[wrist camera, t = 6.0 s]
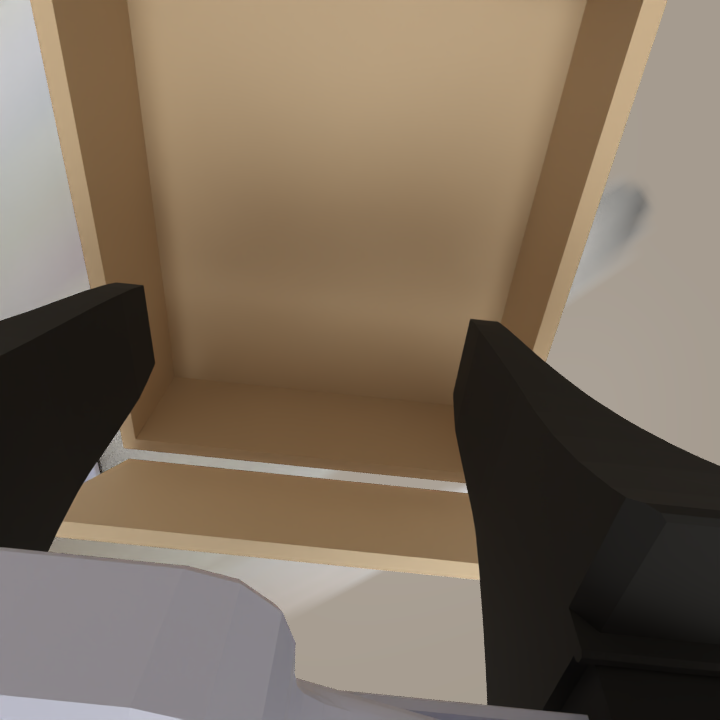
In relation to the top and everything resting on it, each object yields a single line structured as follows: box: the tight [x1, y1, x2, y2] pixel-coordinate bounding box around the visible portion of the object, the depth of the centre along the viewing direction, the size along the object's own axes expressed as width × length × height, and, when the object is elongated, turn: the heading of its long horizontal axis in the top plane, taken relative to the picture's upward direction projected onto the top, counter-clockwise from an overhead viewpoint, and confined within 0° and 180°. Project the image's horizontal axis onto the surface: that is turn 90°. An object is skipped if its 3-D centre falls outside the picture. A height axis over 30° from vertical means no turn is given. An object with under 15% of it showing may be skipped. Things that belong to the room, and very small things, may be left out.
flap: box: [55, 459, 480, 580], centre depth 16 cm, size 13×6×1 cm
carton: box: [30, 0, 667, 483], centre depth 17 cm, size 14×16×4 cm
